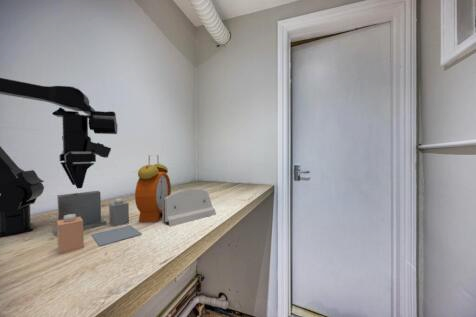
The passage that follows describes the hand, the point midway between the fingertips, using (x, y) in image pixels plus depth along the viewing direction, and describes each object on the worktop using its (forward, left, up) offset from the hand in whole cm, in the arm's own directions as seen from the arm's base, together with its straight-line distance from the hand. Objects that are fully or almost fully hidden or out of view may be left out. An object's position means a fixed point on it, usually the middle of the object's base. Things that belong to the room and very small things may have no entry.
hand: (77, 186), depth 58 cm
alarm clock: (+10, +19, -11) cm, 24 cm away
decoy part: (+9, +9, -11) cm, 16 cm away
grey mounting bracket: (+19, +26, -11) cm, 34 cm away
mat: (+18, +6, -11) cm, 21 cm away
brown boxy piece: (+18, -3, -11) cm, 21 cm away
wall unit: (+5, 0, -11) cm, 12 cm away
